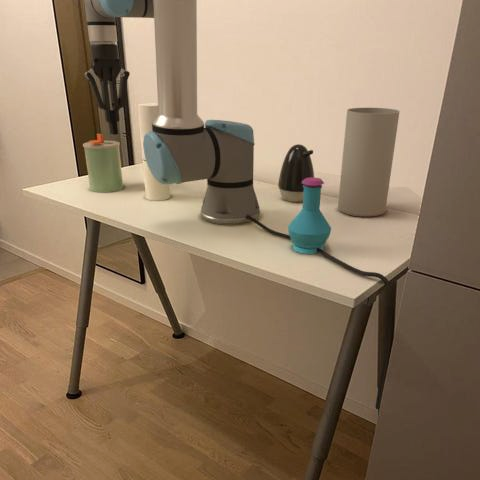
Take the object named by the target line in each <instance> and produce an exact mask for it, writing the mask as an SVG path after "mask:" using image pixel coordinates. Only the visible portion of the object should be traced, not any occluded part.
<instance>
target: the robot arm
mask: <svg viewBox="0 0 480 480" xmlns="http://www.w3.org/2000/svg"><path fill="white" fill-rule="evenodd" d="M83 4H84V10H85V11H84V12H85V19H86V24H87V34H88V41H89V43H91V44H90V46H89V49H90V56H91V65H90V69H89V70H87V71H84V73H83V76H84V77H85V79H86V80H87V81H88V84H89V87H90V90H91V93H92V96H93V98H94V101H95V104H96V106H97V108H98V109H100V110H103V111H104V119H105V122H106V123H108V128H109V134H111V135H113V136H115V135H119V129H118V123H119V122H120V119H121V118H120V109H122V108H124V107H125V102H126V96H127V95H126V94H127V86H128V80H129V77H130V75H131V73H130V71H128V70H126V69H124V68H122V64H121V62H120V54H119V46H118V44H116V43H117V42H118V34H117V33H118V32H117V26H116V18H134V19H135V18H138V19H139V18H141V19H153V21H154V22H153V23H154V46H155V47H154V48H155V67H156V68H155V70H156V90H157V91H156V92H157V103H158V115H157V116H156V117H155V118H154V120H153V121H152V132H151V131H150V132H148V133H146V134H145V136H144V141H143V148H144V154H145V158H146V161H147V164H148V167H149V169H150V171H151V173H152V175H153V176H154V178H155V179H156V180H157V181H158V182H160V183H162V184H170V185H180V184H183V183H190V182H197V181H203V180H206V188H205V189H206V190H205V192H204V196H203V198H202V201H201V203H202V204H201V207H200V218H201V219H202V220H203V221H205V222H208V223H211V224H215V225H226V226H227V225H230V226H231V225H233V226H235V225H244V224H249V223H254V224H255V225H257V226H258V227H260V228H262V229H263V230H264V231H266V232H267V233H269V234H272V235H274V236H277V237H280V238H284V239H288V240H291V238H290V236H289V234H288V233H287V234H286V233H283V232H280V231H277V230H273V229H272V228H269V227H268V226H266V224H263V223H262V222H261V221H259V220H258V219H259V218H260V217H261V208H260V205H259V201H258V197H257V194H256V190H255V188H254V166H255V165H254V162H255V161H254V160H255V159H254V157H255V156H254V155H255V153H254V152H255V136H254V133H255V132H254V128H253V127H252V126H251V124H247V123H243V122H239V121H231V120H224V119H223V120H222V119H207V120H205V122H204V120H203V119H202V118H201V117H200V116H199V114H198V29H197V28H198V14H197V13H198V11H197V9H198V7H197V5H198V4H197V0H83ZM95 76H96V77H97V78H98V79H99V84H100V89H99V87H98V84H97V81H96V79H95ZM118 77H119V85H118V86H117V84H118V83H117V82H118V81H117V80H118V79H117V78H118ZM117 87H118V89H117ZM100 92H101V93H100ZM317 252H319V253H318V254H320V255H322V256H323V257H325V258H326V259H328V260H330V261H331V262H334V263H335V264H337V265H339V266H341V267H342V268H345V269H346V270H348V271H350V272H352V273H354V274H357V275H359V276H363V277H371V278H377V279H379V280H381V281H382V283H384V285H385V286H388V287H390V286H391V282H390V281H389V279H388V278H387V277H386V276H385V275H383V274H381V273H379V272H375V271H364V270H361V269H359V268H356V267H354V266H352V265H349V264H348V263H346V262H344V261H342V260H340V259H339V258H337V257H335V256H333V255H331V254H330V253H328V252H326V251H324V249H323V250H321V249H320V248H317ZM392 314H393V313H392V307H387V308H386V336H385V346H384V354H383V360H382V366H381V370H380V378H379V381H378V388H377V394H376V402H375V409H376V410H380V407H381V400H382V394H383V388H384V383H385V377H386V372H387V367H388V362H389V361H388V360H389V355H390V349H391V348H390V347H391V337H392V320H393V318H392V316H393V315H392Z"/></svg>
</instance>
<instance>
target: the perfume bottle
mask: <svg viewBox="0 0 480 480" xmlns="http://www.w3.org/2000/svg"><path fill="white" fill-rule="evenodd" d="M302 183H303V184H304V185H303V188H304V192H303V201H302V208H301V209H300V211H299V212H298V213H297V214H296V216H295V217H294V218H293V220H292V221H291V222H290V223H289V224H288V226H287V230H288V231H287V232H288V235H289V236H290V238H291V239H290V241H291V243H292V250H293V251H295V252H297V253H299V254H306V255H315V254H320V253H319V252H317V248H320V249H321V250H323V251H324V246H325V245H326V244H327V241H328V239H329V237H330V235H331V232H332V227H331V225H330V224H329V222H328V220H327V219H326V217H325V216H324V214H323V213H322V211H321V210H320V207H321V193H322V189H323V185H324V184H325V182H324V180H323V179H321V178H320V177H315V176H314V177H310V178H305V179H304V180H303V181H302Z"/></svg>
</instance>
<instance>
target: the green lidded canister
mask: <svg viewBox="0 0 480 480" xmlns="http://www.w3.org/2000/svg"><path fill="white" fill-rule="evenodd" d="M120 143H121V142H119V141H117V140H104V143H100V144H93V143H90V142H89V141H86V142H84V143H82V147H83V148H84V154H85V155H84V156H85V162H86V170H87V175H88V176H87V177H88V183H89V190H90V191H92V192H95V193H113V192H118V191H121V190H123V189H124V180H123V172H122V171H123V170H122V162H121V153H120V152H121V151H120Z"/></svg>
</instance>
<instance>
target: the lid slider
mask: <svg viewBox="0 0 480 480" xmlns="http://www.w3.org/2000/svg"><path fill="white" fill-rule="evenodd" d="M96 138H97V139H93V140H88V142H90V143H93V144H100V143H104V141H105V139H104V135H103V134H101V133H96Z"/></svg>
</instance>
